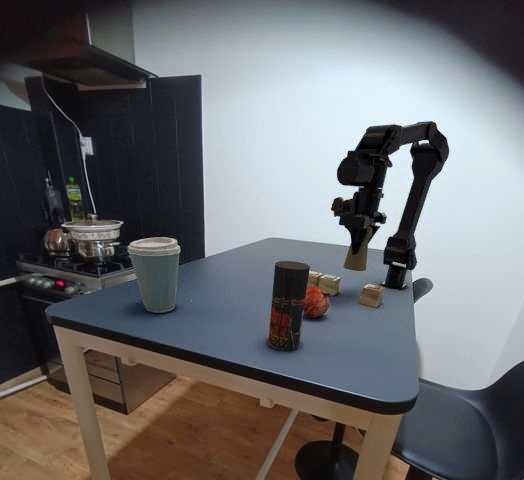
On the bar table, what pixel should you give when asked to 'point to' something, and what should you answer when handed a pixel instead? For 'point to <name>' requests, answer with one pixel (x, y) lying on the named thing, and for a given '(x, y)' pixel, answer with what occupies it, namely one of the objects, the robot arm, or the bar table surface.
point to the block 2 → (329, 284)
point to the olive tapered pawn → (358, 256)
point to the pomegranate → (316, 302)
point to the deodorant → (288, 304)
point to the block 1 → (314, 279)
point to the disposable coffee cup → (156, 271)
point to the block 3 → (372, 295)
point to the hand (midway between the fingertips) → (357, 253)
